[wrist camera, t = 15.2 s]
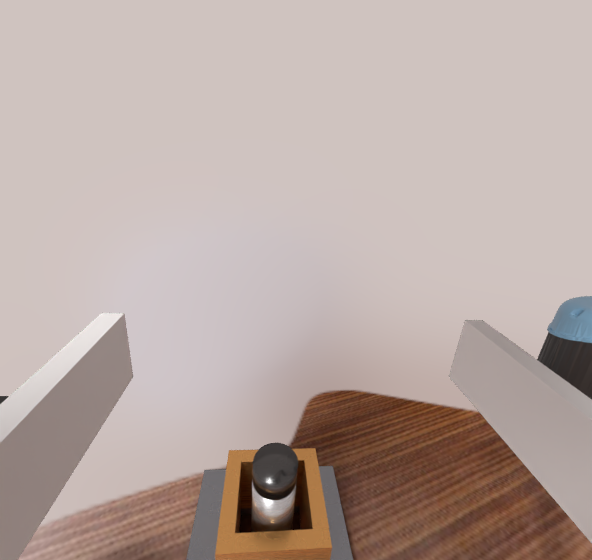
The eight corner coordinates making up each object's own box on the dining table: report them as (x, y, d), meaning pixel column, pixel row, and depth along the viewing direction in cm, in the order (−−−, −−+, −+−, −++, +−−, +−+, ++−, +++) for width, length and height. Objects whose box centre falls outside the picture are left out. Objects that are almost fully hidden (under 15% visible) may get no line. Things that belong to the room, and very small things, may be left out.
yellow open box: (331, 471, 40) (338, 423, 37) (370, 655, 25) (387, 598, 22) (204, 475, 38) (202, 425, 35) (164, 676, 23) (155, 617, 20)
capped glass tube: (288, 525, 33) (296, 442, 29) (291, 570, 30) (300, 482, 26) (251, 527, 33) (253, 443, 29) (249, 573, 29) (251, 484, 25)
